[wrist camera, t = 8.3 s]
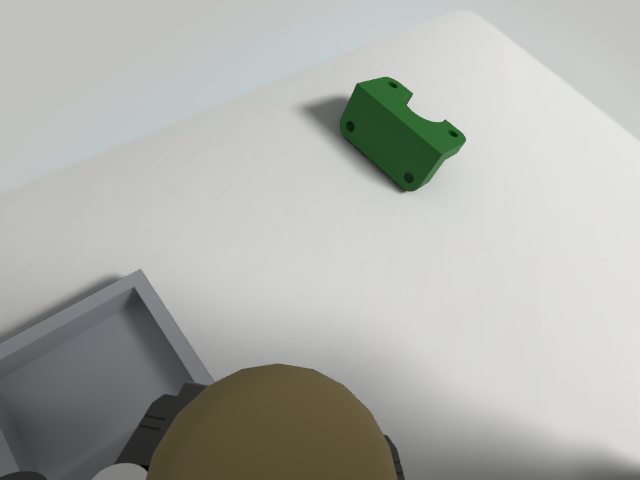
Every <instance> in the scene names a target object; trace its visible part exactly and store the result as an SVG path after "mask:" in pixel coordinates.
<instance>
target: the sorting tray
mask: <svg viewBox="0 0 640 480" xmlns="http://www.w3.org/2000/svg"><path fill="white" fill-rule="evenodd" d="M185 381H190V382H195V383H200V384H206V385H208V386H209V385H211V384H213V383H215V382H214V380H213V379H212V377H211V376H210V374H209V373H208V371H207V370H206V368H205V367H204V365H203V364H202V362H201V360H200V359H199V357H198V356H197V354H196V353H195V351H194V350H193V348H192V347H191V345H190V344H189V342H188V341H187V339H186V337H185V336H184V334H183V333H182V331H181V330H180V328H179V327H178V325H177V324H176V322H175V321H174V319H173V318H172V316H171V315H170V313H169V311H168V310H167V308H166V307H165V305H164V304H163V302H162V301H161V299H160V298H159V296H158V295H157V293H156V292H155V290H154V289H153V287H152V285H151V284H150V282H149V281H148V279H147V278H146V276H145V275H144V273H143V272H142V270H141V269H139V270H137V271H135V272H134V273H132V274H130V275H128V276H126V277H124V278H122V279H120V280H119V281H117V282H115V283H113V284H111V285H109V286H107V287H105V288H104V289H102V290H100V291H98V292H96V293H94V294H92V295H90V296H88V297H87V298H85V299H83V300H81V301H79V302H77V303H75V304H73V305H72V306H70V307H68V308H66V309H64V310H62V311H60V312H58V313H57V314H55V315H53V316H51V317H49V318H47V319H45V320H43V321H42V322H40V323H38V324H36V325H34V326H32V327H30V328H28V329H27V330H25V331H23V332H21V333H19V334H17V335H15V336H13V337H12V338H10V339H8V340H6V341H4V342H2V343H0V477H2V476H4V475H7V474H10V473H14V472H20V471H32V472H37V473H40V474H42V475H43V476H45V477H46V478H47V480H92V479H93V478H94V476H96V475H97V474H98V473H99V472H100V471H102V470H103V469H105V468H107V467H109V466H112V465H114V463H115V462H116V460H117V458H118V457H119V455H120V454H121V452H122V450H123V449H124V447H125V445H126V444H127V442H128V441H129V439H130V437H131V436H132V434H133V432H134V431H135V429H136V428H137V427H138V424H139V423H140V421H141V420H142V418H143V417H144V415H145V413H146V411H147V410H148V408H149V407H150V405H151V403H152V402H154V401H155V400H157V399H158V398H159V397H161V396H162V395H164V394H168V395H174V396H178V394H179V392H180V390H181V388H182V386H183V385H184V383H185Z"/></svg>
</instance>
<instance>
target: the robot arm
mask: <svg viewBox="0 0 640 480" xmlns="http://www.w3.org/2000/svg"><path fill="white" fill-rule="evenodd" d="M207 386H208V385H206V384H200V383H195V382H190V381H185V383H184V385H183V386H182V388H181V390H180V392H179V394H178V396H174V395H168V394H164V395H162V396H161V397H159V398H158V399H157V400H155V401H154V402H152V403H151V405H150V407H149V408H148V410H147V411H146V413H145V415H144V417H143V418H142V420H141V421H140V423H139V424H138V427H137V428H136V429H135V431H134V432H133V434H132V436H131V437H130V439H129V441H128V442H127V444H126V445H125V447H124V449H123V450H122V452H121V454H120V455H119V457H118V458H117V460H116V462H115V463H114V465H112V466H109V467H107V468H105V469H103V470H102V471H100V472H99V473H98V474H97V475H96V476H94V478H93V479H92V480H146V476H147V473H148V470H149V466H150V463H151V460H152V456H153V453H154V451H155V450H156V448H157V446H158V445H159V443H160V442H161V440H162V438H163V437H164V435H165V434H166V432H167V430H168V429H169V427H170V425H171V424H172V422H173V421H174V419H175V417H176V416H177V414H178V413H179V412H180V411H181V410H183V409H184V408H185V407H186V406H187V405H188V404H189V403H190V402H191V401H192V400H193V399H194V398H196V397H197V396H198V395H199V394H200V393H201V392H202V391H203V390H204V389H205V388H206V387H207ZM383 436H384V437H385V439H386V441H387V443H388V445H389V446H390V450H391V454H392V458H393V462H394V467H395V471H396V475H397V479H398V480H405V478H404V476H403V470H402V467H401V465H400V459H399V456H398V452H397V448H396V447H395V446H394V444H393V443H392V442H391V440H390V439H389V437H388V436H386V435H383ZM0 480H47V478H46V477H45V476H43V475H42V474H40V473H37V472H32V471H20V472H14V473H10V474H7V475H4V476H2V477H0Z"/></svg>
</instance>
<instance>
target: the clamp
mask: <svg viewBox="0 0 640 480" xmlns="http://www.w3.org/2000/svg"><path fill="white" fill-rule="evenodd" d="M412 95H413V93H412V92H410V91H409V90H408V89H407V88H405V87H404V86H403V85H402V84H400V83H399V82H398V81H396V80H394V79H392V78H389V77H382V78H378V79H373V80H369V81H365V82H361V83H357V84H356V87H355V89H354V91H353V93H352V95H351V98H350V100H349V102H348V104H347V107H346V109H345V111H344V113H343V116H342V118H341V120H340V129H341V132H342V134H343V135H344V136H345V137H346V138H347V139H348V140H349V141H350V142H351V143H352V144H353V145H355V146H356V147H357V148H358V149H359V150H360V151H361V152H362V153H364V154H365V155H366V156H367V157H368V158H369V159H370V160H371V161H372V162H374V163H375V164H376V165H377V166H378V167H379V168H380V169H381V170H383V171H384V172H385V173H386V174H387V175H388V176H389V177H390V178H391V179H393V180H394V181H395V182H396V183H397V184H398V185H399V186H400V187H402V188H403V189H404V190H406V191H415V190H417V189H418V188H420V187H422V186H423V185H425V184H427V183H428V182H429V181H430V179H431V178H432V177H433V175H434V174H435V173H436V171H437V170H438V168H439V167H440V166H441V164H442V163H443V162H444V160H446V159H448V158H449V157H451V156H453V155H455V154H456V153H457V152H458V151H459V150H460V148H461V147H462V146H463V144H464V143H465V142H466V138H465V136H464V135H463V133H462V132H460V131H459V130H458V129H457V128H455V127H454V126H453V125H452V124H450V123H449V122H448V121H447V120H444V121H443V122H432V121H428V120H426V119H424V118H422V117H420V116H418V115H417V114H415V113H414V112H413V111H411V110H410V109H409V107H408V106H407V104H408V102H409V100H410V98H411V97H412Z"/></svg>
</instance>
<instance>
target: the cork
mask: <svg viewBox="0 0 640 480" xmlns="http://www.w3.org/2000/svg"><path fill="white" fill-rule="evenodd" d="M146 480H398V479H397V475H396V471H395V467H394V462H393V458H392V454H391V450H390V446H389V445H388V443H387V441H386V439H385V437H384V436H383V434H382V432H381V430H380V428H379V427H378V425H377V423H376V421H375V419H374V417H373V416H372V414H371V412H370V411H369V410H368V409H367V408H366V407H365V406H364V405H363V404H362V403H361V402H360V401H359V400H358V399H357V398H356V397H355V396H354V395H353V394H352V393H351V392H350V391H349V390H348V389H347V388H346V387H345V386H344V385H342V384H340V383H338V382H336V381H334V380H333V379H331V378H329V377H327V376H325V375H323V374H321V373H319V372H317V371H315V370H313V369H308V368H302V367H296V366H290V365H284V364H272V365H266V366H259V367H253V368H246V369H241V370H239V371H237V372H235V373H233V374H231V375H229V376H227V377H225V378H223V379H221V380H219V381H217V382H215V383H213V384H211V385H209V386H207V387H206V388H205V389H204V390H203V391H202V392H201V393H200V394H199V395H198V396H197V397H196V398H194V399H193V400H192V401H191V402H190V403H189V404H188V405H187V406H186V407H185V408H184V409H183V410H181V411H180V412H179V413H178V414H177V416H176V417H175V419H174V421H173V422H172V424H171V425H170V427H169V429H168V430H167V432H166V434H165V435H164V437H163V438H162V440H161V442H160V443H159V445H158V446H157V448H156V450H155V451H154V453H153V456H152V460H151V463H150V466H149V470H148V473H147V476H146Z"/></svg>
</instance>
